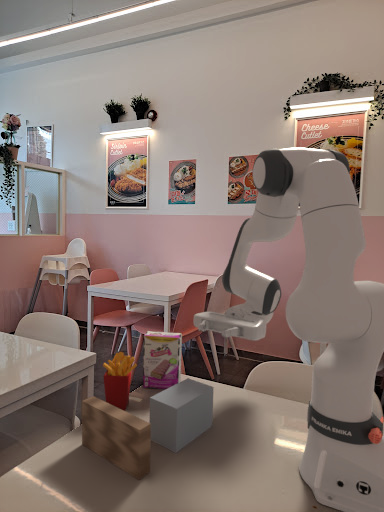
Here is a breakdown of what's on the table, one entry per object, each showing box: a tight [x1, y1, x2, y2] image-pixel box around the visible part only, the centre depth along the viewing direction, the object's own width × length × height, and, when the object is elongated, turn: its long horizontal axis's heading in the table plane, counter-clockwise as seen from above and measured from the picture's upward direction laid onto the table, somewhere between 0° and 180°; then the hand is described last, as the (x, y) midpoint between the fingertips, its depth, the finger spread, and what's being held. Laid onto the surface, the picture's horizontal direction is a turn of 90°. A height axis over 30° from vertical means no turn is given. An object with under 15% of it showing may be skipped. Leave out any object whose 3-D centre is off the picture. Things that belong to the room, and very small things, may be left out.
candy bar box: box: [142, 330, 183, 390], centre depth 110 cm, size 11×5×16 cm, turn 84°
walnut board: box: [81, 395, 152, 481], centre depth 76 cm, size 18×3×10 cm, turn 53°
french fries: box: [102, 351, 138, 411], centre depth 98 cm, size 9×8×15 cm
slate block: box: [149, 378, 214, 454], centre depth 86 cm, size 8×14×10 cm, turn 143°
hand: (211, 331), depth 94 cm, fingers open, 6 cm apart
